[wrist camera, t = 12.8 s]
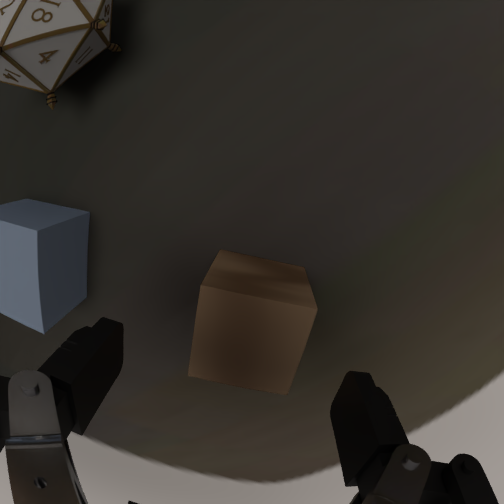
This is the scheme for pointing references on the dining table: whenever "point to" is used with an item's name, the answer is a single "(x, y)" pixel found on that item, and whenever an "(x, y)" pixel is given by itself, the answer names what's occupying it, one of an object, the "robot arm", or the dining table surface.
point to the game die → (51, 40)
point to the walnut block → (251, 323)
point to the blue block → (42, 261)
